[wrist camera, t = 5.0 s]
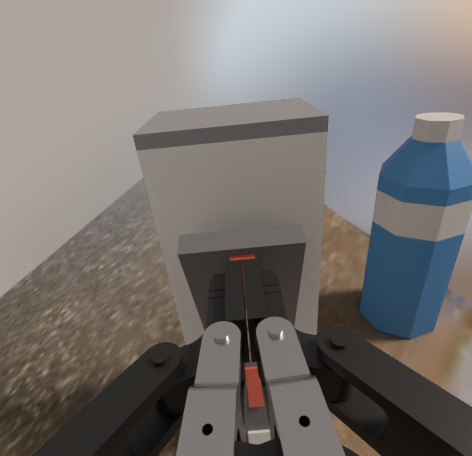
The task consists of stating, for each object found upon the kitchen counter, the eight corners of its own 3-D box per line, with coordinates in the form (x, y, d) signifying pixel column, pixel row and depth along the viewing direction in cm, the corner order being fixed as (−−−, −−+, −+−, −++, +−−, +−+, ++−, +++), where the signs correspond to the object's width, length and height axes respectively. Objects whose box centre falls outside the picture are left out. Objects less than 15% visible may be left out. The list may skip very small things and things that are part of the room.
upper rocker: (206, 318, 22) (179, 235, 15) (291, 310, 22) (300, 223, 15) (206, 338, 21) (176, 258, 14) (294, 330, 21) (307, 246, 14)
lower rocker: (225, 451, 26) (213, 354, 24) (297, 445, 25) (291, 347, 24) (224, 468, 24) (211, 366, 22) (301, 462, 24) (294, 359, 22)
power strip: (199, 361, 37) (142, 110, 23) (306, 351, 37) (315, 93, 23) (191, 454, 29) (93, 145, 15) (331, 443, 29) (370, 117, 14)
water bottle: (448, 310, 41) (516, 110, 28) (416, 353, 36) (481, 133, 23) (379, 279, 47) (410, 105, 35) (344, 311, 42) (366, 121, 30)
